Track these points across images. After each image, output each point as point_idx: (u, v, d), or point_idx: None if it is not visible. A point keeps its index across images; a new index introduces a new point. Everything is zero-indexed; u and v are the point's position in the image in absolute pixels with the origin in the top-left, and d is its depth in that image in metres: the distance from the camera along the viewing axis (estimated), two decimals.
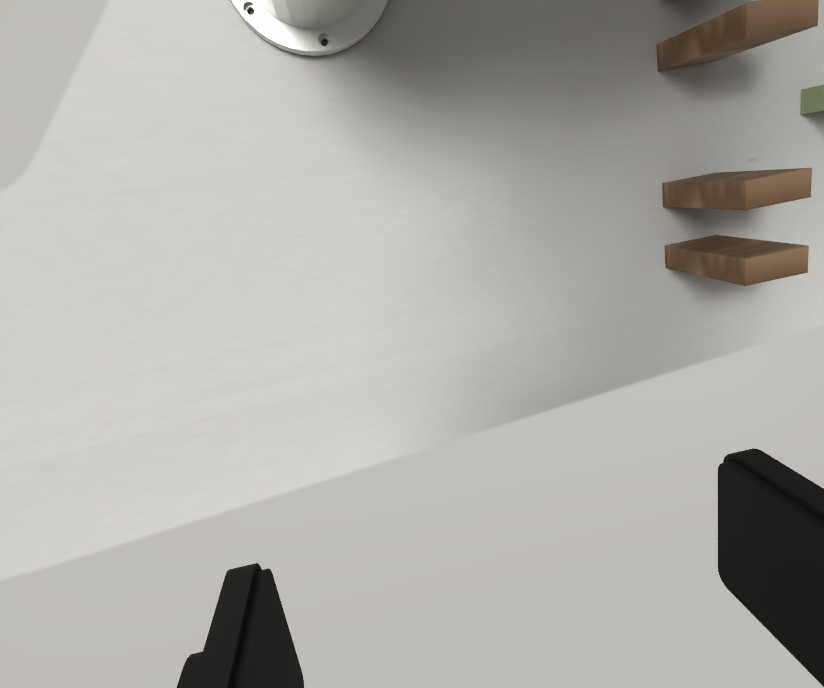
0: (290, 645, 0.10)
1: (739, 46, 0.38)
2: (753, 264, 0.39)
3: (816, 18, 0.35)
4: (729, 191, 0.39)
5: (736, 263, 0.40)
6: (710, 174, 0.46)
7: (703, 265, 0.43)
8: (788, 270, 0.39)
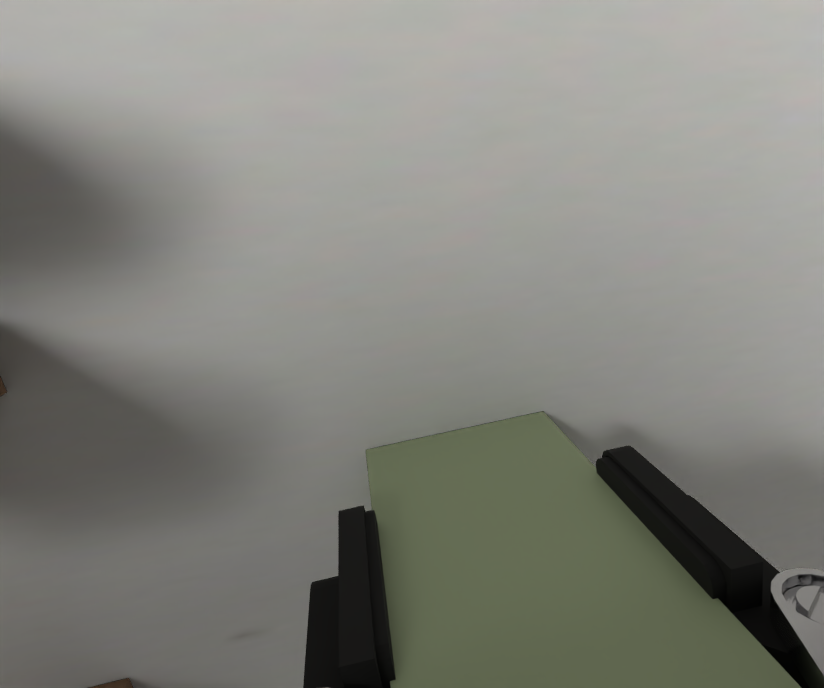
0: None
1: None
2: None
3: None
4: None
5: None
6: None
7: None
8: None
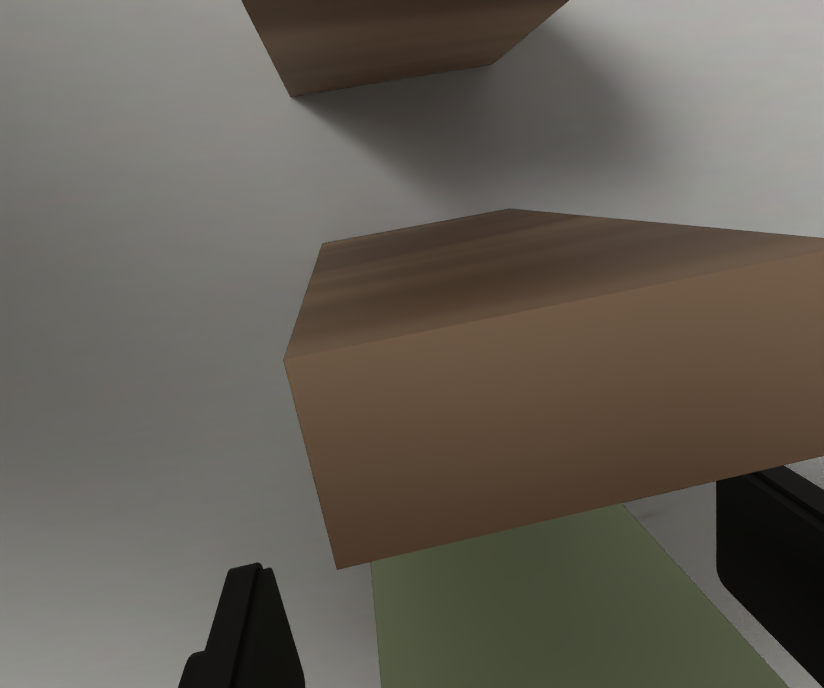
0: (291, 644, 0.10)
1: None
2: None
3: None
4: None
5: None
6: None
7: None
8: None
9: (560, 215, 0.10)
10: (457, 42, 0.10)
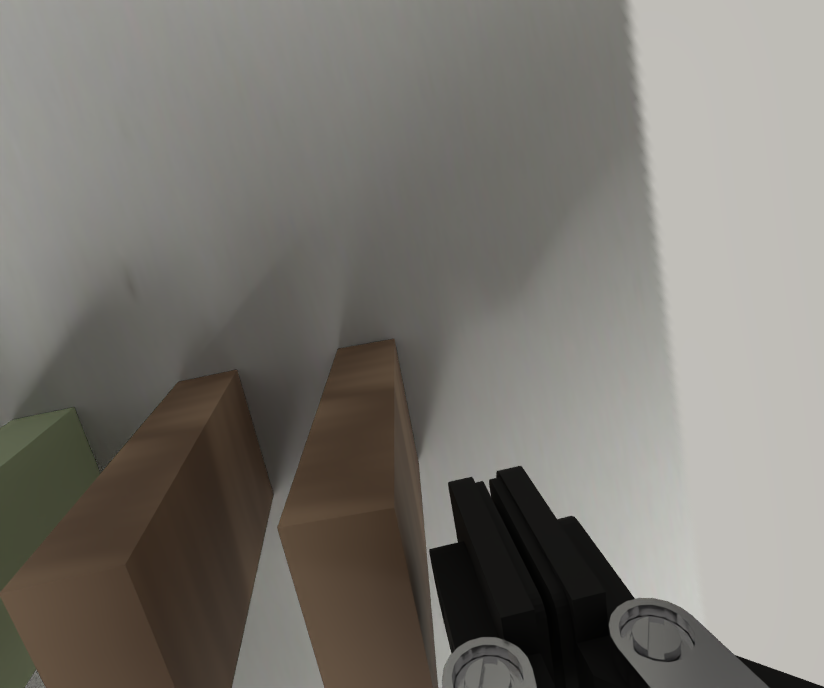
0: None
1: None
2: None
3: None
4: None
5: None
6: None
7: None
8: (384, 587, 0.09)
9: None
10: None
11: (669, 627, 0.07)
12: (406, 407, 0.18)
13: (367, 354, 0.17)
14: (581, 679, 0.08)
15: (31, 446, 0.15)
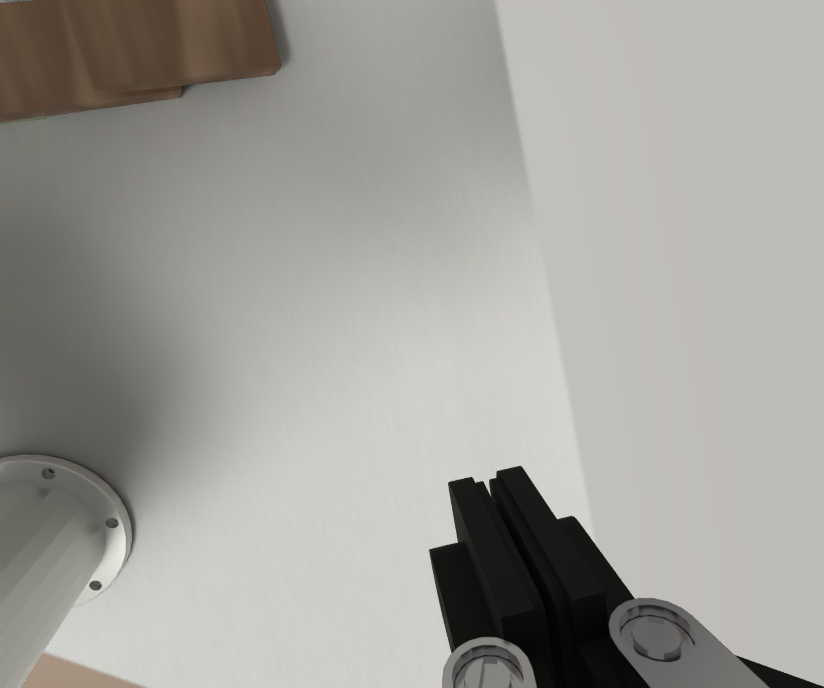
0: None
1: None
2: None
3: None
4: (23, 116, 0.29)
5: (114, 91, 0.29)
6: None
7: (186, 80, 0.30)
8: None
9: None
10: None
11: (669, 627, 0.07)
12: (254, 15, 0.30)
13: None
14: (581, 679, 0.08)
15: None
